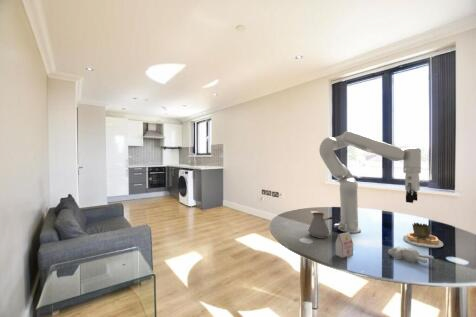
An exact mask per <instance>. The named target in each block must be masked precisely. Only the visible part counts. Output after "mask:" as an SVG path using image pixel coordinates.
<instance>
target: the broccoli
mask: <svg viewBox="0 0 476 317" xmlns="http://www.w3.org/2000/svg"><path fill="white" fill-rule="evenodd" d="M431 229H432V227H431V225H430V224H427V223H423V224H422V223H419V222H413V223H412V230H413V232H414V234H415V235H416V236H418V237H417V238H418V239H424V240H426V238H427V237H429V235H431V234H430V233H431Z"/></svg>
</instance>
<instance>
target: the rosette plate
mask: <svg viewBox="0 0 476 317" xmlns="http://www.w3.org/2000/svg"><path fill="white" fill-rule="evenodd" d="M417 237H418V236H416V235H415V234H414V231H413V232H407V233H406V234H405V235H403V236H402V238H403V241H404V242H405V243H408V244H410V245H412V246H417V247H419V248H425V249H427V248H428V249H441V247H442V248H443V247H444V243H443V241H441V240H440V239H439V238H438V237H437V236H435V235H432V234H430V235H429V237H427V238H426V240H424V239H418V238H417Z"/></svg>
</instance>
